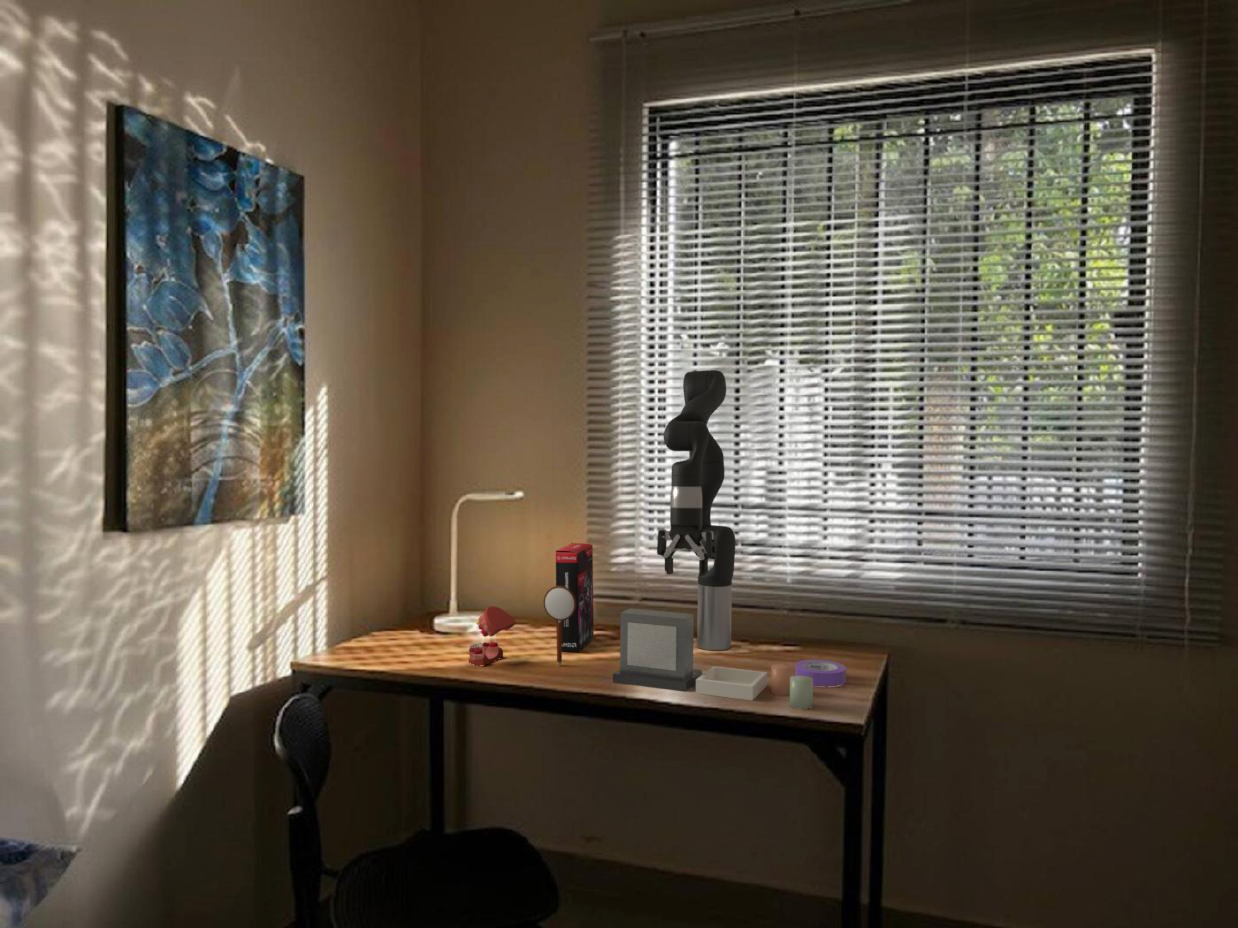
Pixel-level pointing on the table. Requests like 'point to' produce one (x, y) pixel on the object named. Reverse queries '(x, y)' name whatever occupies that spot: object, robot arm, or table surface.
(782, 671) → the cylinder
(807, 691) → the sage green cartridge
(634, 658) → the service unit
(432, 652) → the table surface
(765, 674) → the tray
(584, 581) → the graphics card box
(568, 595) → the magnifying glass
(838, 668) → the masking tape
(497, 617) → the anatomical model
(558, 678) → the table surface
